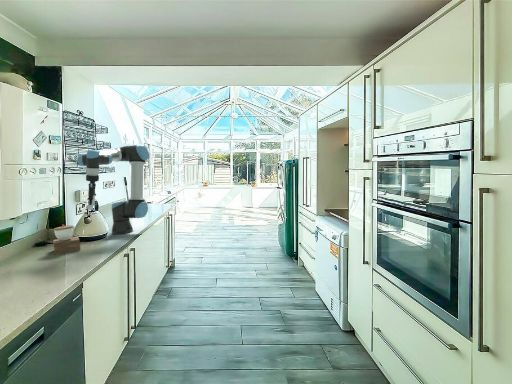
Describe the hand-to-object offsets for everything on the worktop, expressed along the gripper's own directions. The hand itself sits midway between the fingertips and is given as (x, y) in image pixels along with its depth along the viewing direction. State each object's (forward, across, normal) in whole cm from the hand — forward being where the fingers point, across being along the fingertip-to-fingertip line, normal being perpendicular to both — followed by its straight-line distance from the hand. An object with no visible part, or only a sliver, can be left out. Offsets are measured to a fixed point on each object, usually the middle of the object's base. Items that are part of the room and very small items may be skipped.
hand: (91, 207), depth 253 cm
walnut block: (+26, -9, +12) cm, 30 cm away
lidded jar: (+19, -9, +13) cm, 25 cm away
